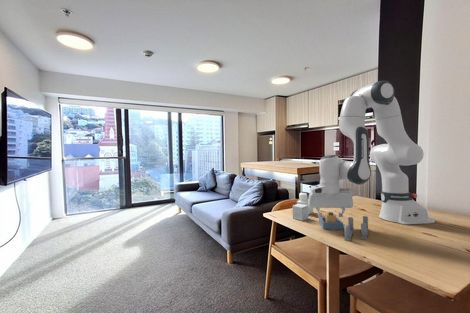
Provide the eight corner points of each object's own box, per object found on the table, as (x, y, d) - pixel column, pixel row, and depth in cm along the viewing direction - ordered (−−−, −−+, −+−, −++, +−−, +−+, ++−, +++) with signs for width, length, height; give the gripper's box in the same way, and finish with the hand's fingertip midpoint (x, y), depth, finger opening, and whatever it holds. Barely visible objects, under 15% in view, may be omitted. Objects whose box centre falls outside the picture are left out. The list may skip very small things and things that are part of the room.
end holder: (337, 223, 110) (337, 217, 110) (343, 229, 102) (343, 223, 101) (319, 222, 112) (318, 216, 112) (323, 229, 103) (322, 222, 103)
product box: (302, 221, 116) (301, 207, 115) (292, 218, 120) (292, 205, 120) (308, 218, 119) (308, 205, 119) (298, 216, 124) (298, 203, 124)
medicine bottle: (302, 210, 135) (301, 191, 135) (313, 212, 130) (313, 192, 130) (296, 213, 130) (296, 193, 130) (307, 215, 125) (307, 194, 125)
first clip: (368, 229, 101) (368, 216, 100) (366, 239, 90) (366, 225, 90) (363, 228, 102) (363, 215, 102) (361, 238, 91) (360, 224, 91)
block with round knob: (334, 223, 108) (333, 211, 108) (336, 226, 104) (335, 213, 104) (325, 223, 109) (325, 211, 109) (327, 226, 105) (327, 213, 105)
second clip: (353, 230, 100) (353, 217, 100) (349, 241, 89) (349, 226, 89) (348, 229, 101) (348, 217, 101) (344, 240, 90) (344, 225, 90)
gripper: (350, 187, 107) (351, 214, 108) (307, 187, 111) (308, 214, 112) (355, 189, 101) (355, 218, 102) (309, 189, 105) (310, 218, 105)
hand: (330, 216), depth 107 cm, fingers open, 8 cm apart
